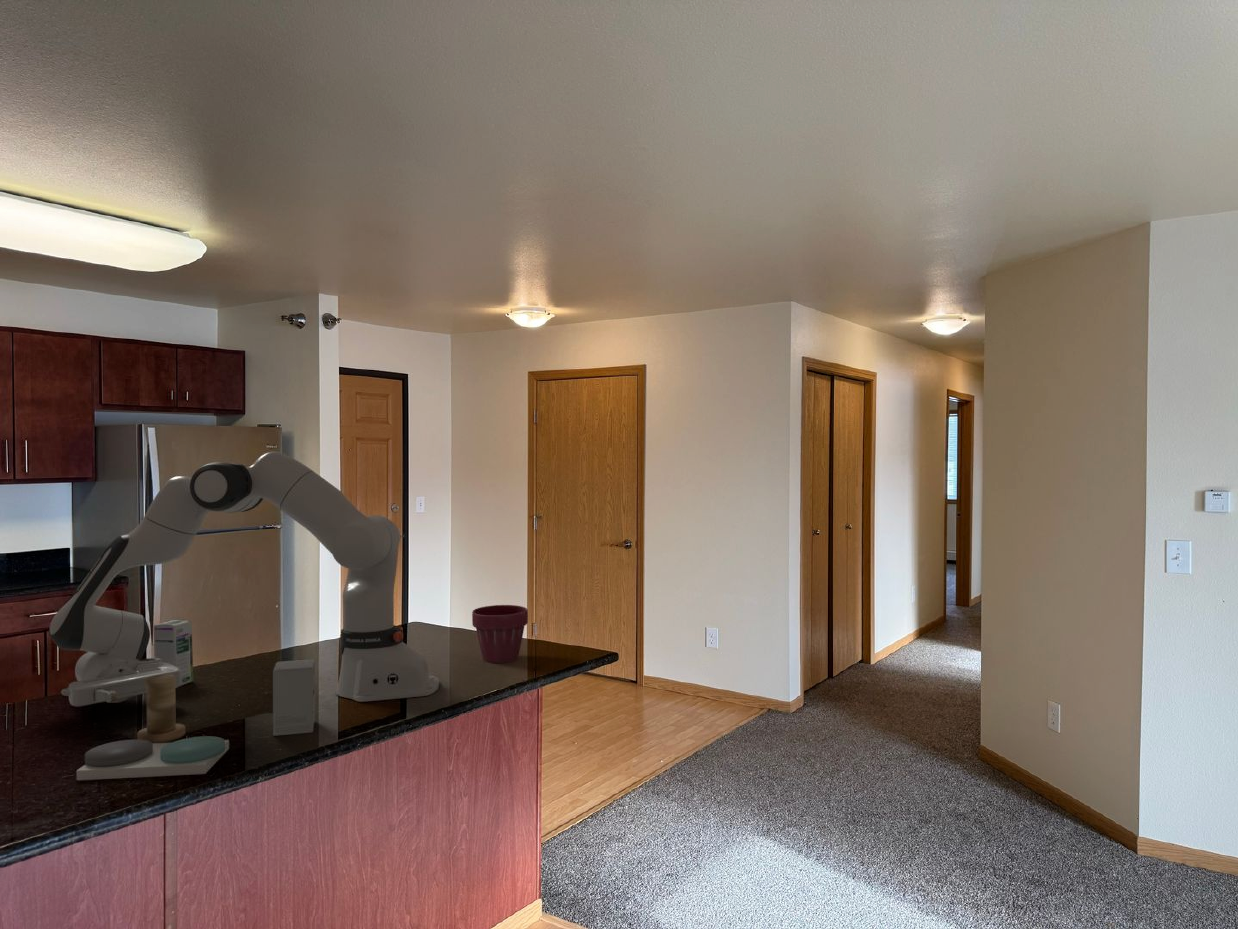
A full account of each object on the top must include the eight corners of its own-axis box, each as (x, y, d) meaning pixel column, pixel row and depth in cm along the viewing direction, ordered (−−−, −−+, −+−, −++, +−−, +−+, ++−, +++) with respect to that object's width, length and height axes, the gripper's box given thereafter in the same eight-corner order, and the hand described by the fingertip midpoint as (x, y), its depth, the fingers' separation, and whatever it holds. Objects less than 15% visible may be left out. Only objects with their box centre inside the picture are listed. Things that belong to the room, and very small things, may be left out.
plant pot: (484, 668, 208) (483, 617, 208) (464, 656, 221) (464, 608, 220) (536, 661, 216) (536, 611, 215) (515, 650, 228) (515, 602, 228)
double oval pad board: (234, 748, 153) (234, 733, 153) (211, 773, 141) (211, 756, 141) (105, 754, 150) (104, 739, 150) (70, 780, 138) (69, 763, 138)
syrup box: (176, 688, 192) (175, 625, 192) (153, 687, 193) (153, 624, 193) (193, 681, 198) (193, 620, 198) (171, 680, 199) (171, 619, 199)
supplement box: (313, 733, 161) (313, 667, 161) (272, 736, 159) (271, 670, 159) (316, 721, 168) (315, 658, 168) (276, 724, 166) (275, 661, 166)
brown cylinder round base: (191, 728, 164) (191, 671, 164) (175, 742, 156) (174, 682, 156) (148, 730, 163) (147, 673, 163) (129, 744, 155) (128, 684, 155)
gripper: (58, 675, 169) (78, 687, 160) (167, 656, 184) (191, 667, 175) (58, 706, 169) (79, 720, 160) (167, 685, 184) (192, 697, 175)
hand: (139, 692), depth 168 cm, fingers open, 8 cm apart
